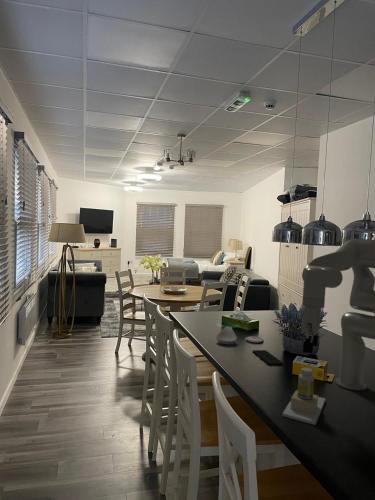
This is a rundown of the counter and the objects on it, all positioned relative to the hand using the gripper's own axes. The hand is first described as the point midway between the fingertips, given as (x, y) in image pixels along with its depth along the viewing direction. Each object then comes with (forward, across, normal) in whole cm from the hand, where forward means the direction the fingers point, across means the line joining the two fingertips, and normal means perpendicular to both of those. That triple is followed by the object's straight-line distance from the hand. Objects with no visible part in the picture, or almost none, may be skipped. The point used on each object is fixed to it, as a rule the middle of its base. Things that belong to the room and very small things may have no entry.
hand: (310, 349), depth 135 cm
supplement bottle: (+17, +1, 0) cm, 17 cm away
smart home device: (+24, -47, -29) cm, 60 cm away
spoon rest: (+24, -64, -58) cm, 89 cm away
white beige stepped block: (+22, -1, -1) cm, 22 cm away
